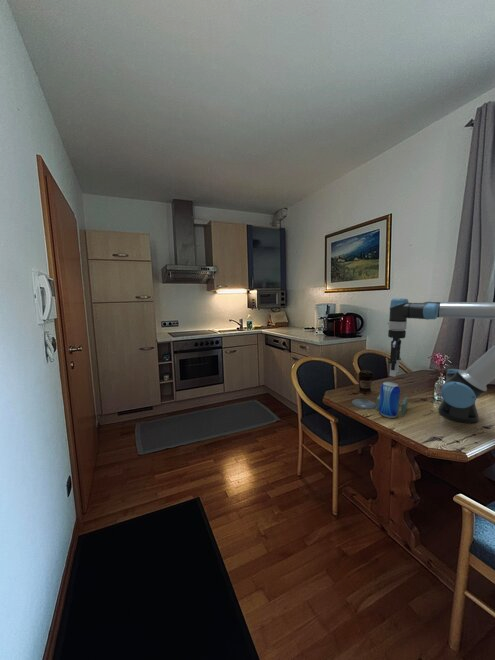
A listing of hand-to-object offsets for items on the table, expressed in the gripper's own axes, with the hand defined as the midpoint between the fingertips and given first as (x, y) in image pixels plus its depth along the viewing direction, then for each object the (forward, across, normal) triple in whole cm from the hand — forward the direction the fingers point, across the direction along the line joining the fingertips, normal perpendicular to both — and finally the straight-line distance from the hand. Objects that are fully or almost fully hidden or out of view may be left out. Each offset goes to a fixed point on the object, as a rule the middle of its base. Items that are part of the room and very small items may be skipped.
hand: (393, 374), depth 132 cm
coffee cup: (+19, -17, -17) cm, 31 cm away
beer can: (+19, +8, 0) cm, 21 cm away
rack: (+19, -1, 0) cm, 19 cm away
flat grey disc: (+19, +2, -13) cm, 23 cm away
